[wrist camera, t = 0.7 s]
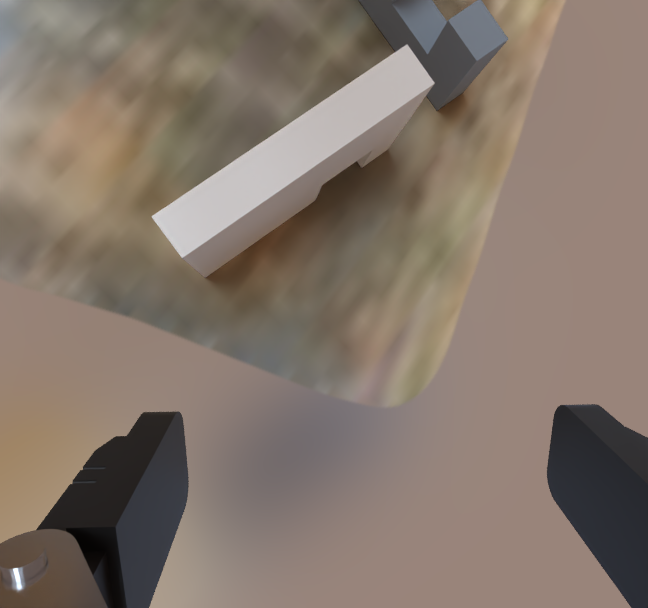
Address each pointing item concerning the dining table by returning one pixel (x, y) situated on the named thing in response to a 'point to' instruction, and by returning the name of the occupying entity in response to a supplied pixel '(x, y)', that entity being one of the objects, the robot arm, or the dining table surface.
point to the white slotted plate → (294, 164)
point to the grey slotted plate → (440, 41)
